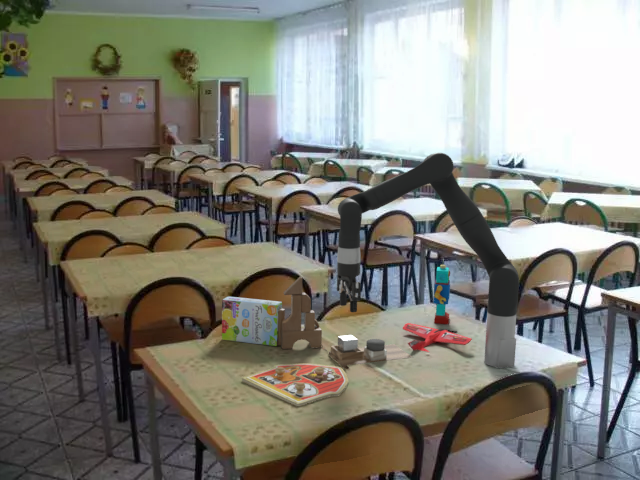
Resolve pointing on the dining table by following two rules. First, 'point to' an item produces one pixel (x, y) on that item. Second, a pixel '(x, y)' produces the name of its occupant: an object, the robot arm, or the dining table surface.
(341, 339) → the white block
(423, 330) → the toy airplane
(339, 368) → the knob puzzle
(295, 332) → the wooden toy
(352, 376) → the dining table surface
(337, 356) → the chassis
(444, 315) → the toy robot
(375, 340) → the gray push button
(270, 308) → the snack box
